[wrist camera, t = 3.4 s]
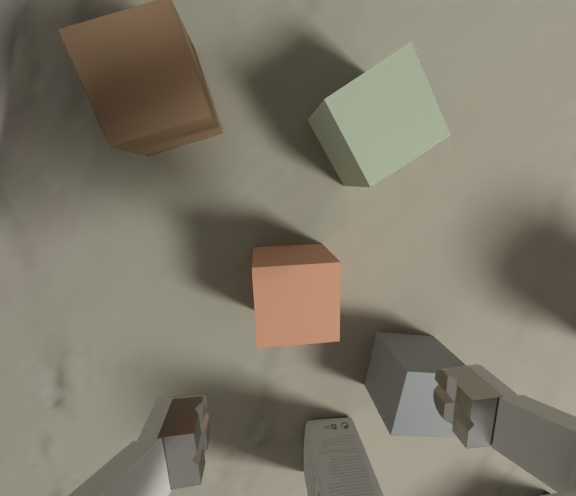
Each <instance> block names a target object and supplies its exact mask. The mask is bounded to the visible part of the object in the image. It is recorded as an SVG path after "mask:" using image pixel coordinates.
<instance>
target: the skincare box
mask: <svg viewBox="0 0 576 496" xmlns="http://www.w3.org/2000/svg"><path fill="white" fill-rule="evenodd" d="M304 476H305V482H306V487H307V493H308V496H384V495H383V493H382V490H381V488H380V485H379V483H378V480H377V478H376V476H375V473H374V471H373V468H372V466H371V463H370V461H369V458H368V456H367V453H366V451H365V449H364V446H363V444H362V441H361V439H360V436H359V434H358V432H357V429H356V427H355V424H354V422H353V420H352V418H330V419H316V420H308V421H307V423H306V426H305V436H304Z"/></svg>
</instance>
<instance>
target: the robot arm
mask: <svg viewBox="0 0 576 496" xmlns="http://www.w3.org/2000/svg"><path fill="white" fill-rule="evenodd" d="M435 380H436V382H437V383H438V385H437V386H436V388H435V389H434V394H433V399H434V403H435V407H436V409H437V411H438V413H439V414H440V416H441V417H442V418H443V420H445V421H447V422H449V423H450V424H452V431H453V432H454V434H455V435H456V436H457V437H458V439H459V440H460V441H461V442H462V444H463V445H464V446H465V447H466V449H468V448H478V447H488V446H492V448H493V449H495V450H496V451H498V452H499V453H501V454H502V455H504V456H505V457H507V458H508V459H509V460H511V461H512V462H514V463H515V464H517V465H518V466H520V467H521V468H523V469H524V470H526V471H527V472H529V473H530V474H532V475H533V476H534V477H536V478H537V479H539V480H540V481H542V482H543V483H545V484H546V485H548V486H549V487H551V488H552V489H554V490H555V491H557V492H558V493H554V494H547V495H541V496H576V417H575V416H573V415H570V414H568V413H565V412H563V411H561V410H558V409H556V408H553V407H551V406H548V405H546V404H543V403H541V402H538V401H536V400H534V399H531V398H529V397H526V396H524V395H519V396H518V395H517V394H516V393H515V392H514V391H512V390H511V389H510V388H509V387H507V386H506V385H505V384H504V383H502V382H501V381H500V380H499V379H498V378H496V377H495V376H494V375H493V374H491V373H490V372H489V371H488V370H486V369H485V368H484V367H483V366H481V365H478V364H475V365H467V366H463V367H454V368H445V369H437V371H436V373H435ZM207 405H208V403H207V396H206V395H205V394H199V395H187V396H175V397H166V398H159V399H158V400H157V401H156V402H155V404H154V407H153V409H152V411H151V413H150V415H149V417H148V419H147V421H146V424H145V426H144V428H143V430H142V432H141V434H140V436H139V438H138V441H133V442H131V443H130V444H129V445H128V446H127V447H125V448H124V449H123V450H122V451H121V452H119V453H118V454H117V455H116V456H115V457H114V458H112V459H111V460H110V461H109V462H108V463H106V464H105V465H104V466H103V467H102V468H101V469H99V470H98V471H97V472H96V473H95V474H93V475H92V476H91V477H90V478H89V479H88V480H86V481H85V482H84V483H83V484H82V485H80V486H79V487H78V488H77V489H76V490H75V491H73V492H72V493H71V494H70V495H69V496H168V495H169V494H170V492H171V489H177V488H183V487H189V486H195V485H201V482H202V476H203V471H204V466H205V457H204V453H205V451H206V450H207V449H208V445H209V437H210V419H209V415H208V414H207V413H206V410H207Z"/></svg>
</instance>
